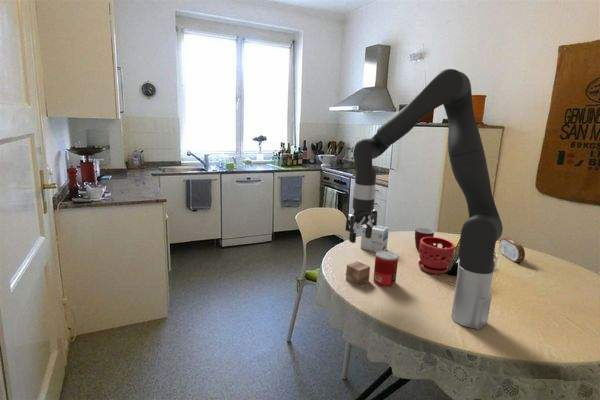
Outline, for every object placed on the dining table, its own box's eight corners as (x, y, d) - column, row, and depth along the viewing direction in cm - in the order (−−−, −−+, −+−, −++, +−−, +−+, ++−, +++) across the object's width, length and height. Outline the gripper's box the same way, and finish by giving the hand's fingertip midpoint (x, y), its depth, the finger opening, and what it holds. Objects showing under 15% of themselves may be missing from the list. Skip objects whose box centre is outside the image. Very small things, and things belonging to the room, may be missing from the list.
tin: (523, 265, 152) (527, 246, 150) (516, 265, 152) (520, 246, 150) (503, 252, 167) (506, 235, 165) (496, 252, 167) (499, 234, 165)
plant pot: (418, 274, 140) (421, 245, 137) (415, 261, 152) (418, 234, 149) (453, 278, 137) (457, 249, 134) (448, 265, 149) (452, 238, 146)
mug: (407, 246, 169) (410, 226, 167) (423, 246, 171) (426, 226, 168) (417, 254, 159) (420, 233, 157) (434, 254, 160) (437, 233, 158)
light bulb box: (387, 249, 165) (389, 227, 162) (382, 254, 159) (384, 231, 156) (365, 244, 170) (367, 223, 168) (359, 248, 164) (361, 226, 162)
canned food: (395, 288, 127) (399, 259, 125) (373, 285, 129) (375, 257, 126) (394, 279, 134) (397, 251, 132) (373, 276, 136) (375, 249, 133)
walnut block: (368, 281, 132) (370, 266, 131) (358, 286, 128) (359, 270, 127) (356, 275, 136) (357, 261, 135) (345, 279, 133) (346, 265, 131)
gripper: (358, 201, 118) (355, 247, 121) (385, 196, 127) (381, 239, 130) (342, 196, 123) (339, 240, 127) (368, 192, 132) (365, 233, 136)
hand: (360, 240), depth 129 cm, fingers open, 8 cm apart
